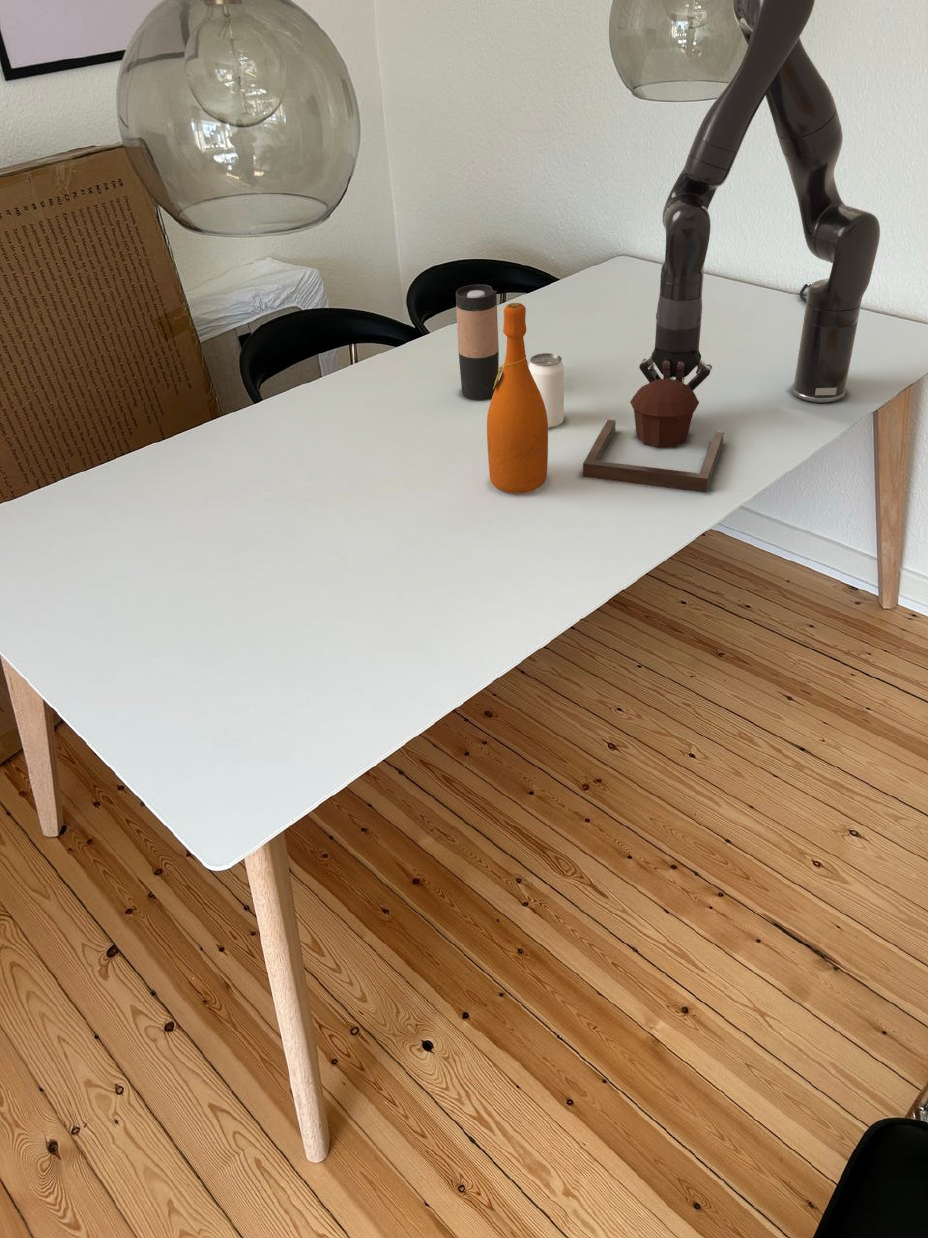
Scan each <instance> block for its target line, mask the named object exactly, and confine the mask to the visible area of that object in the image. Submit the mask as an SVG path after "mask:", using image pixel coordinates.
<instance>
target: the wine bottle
mask: <svg viewBox="0 0 928 1238" xmlns="http://www.w3.org/2000/svg"><path fill="white" fill-rule="evenodd" d="M526 312H527V309H526V306H525V305H524V304H522V303H520V302H511V303H508V304H507V305H505V306H504V309H503V328H502V332H503V334H504V335H505V337H506V349H505V351H506V352H505V353H506V354H505V359H504V363H503V364H502V365H500V366H499V368H498V375H497V378H496V381H495V384H494V387H495V385H496V383H497V381H498V379H499V382H498V384H497V386H496V389H495V391H494V393H493V396H492V398H491V399H490V403H489V407H488V410H487V416H486V443H487V445H486V446H487V459H488V460H487V461H488V473H489V479H490V482H491V484H492V485H493V486H494V488H496V489H497V490H500V491H502V492H505V493H508V494H526V493H531V492H534V491H536V490H538V489H540V488H541V487H542V486H544V484H545V482H546V480H547V479H548V478H547V476H548V463H549V462H548V460H549V428H548V419H547V412H546V408H545V405H544V401H543V399H542V396H541V394H540V391H539V389H538V387H537V385H536V383H535V381H534V379H533V377H532V374H531V372H530V370H529V367H528V366H529V362H528V360H527V354H526V346H525V339H524V336H525V335H526V333H527V324H526V323H527V321H526V314H527V313H526ZM493 390H494V388H493Z"/></svg>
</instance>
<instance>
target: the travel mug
mask: <svg viewBox="0 0 928 1238" xmlns="http://www.w3.org/2000/svg"><path fill="white" fill-rule="evenodd" d="M455 303H456V306H455V307H456V325H457V328H456V329H457V347H458V348H457V349H458V362H459V363H458V364H459V373H460V375H459V376H460V385H461V393H462V397H464V398H465V399H468V400H470V401H486V400H491V399H492V396H493V393H494V391H495V389H496V386H497V384H498V382H499V379H500V378H499V379H498V381H497V383H496V385H495V387H494V384H495V381H496V378H497V375H498V368H499V367H500V366H499V364H500V363H499V361H500V360H499V359H500V358H499V357H500V354H499V353H500V352H499V351H500V346H499V345H500V344H499V322H498V297H497V290H494V289H493V288H492V286H490V285H488V284H469V285H465V286H462V287H458V289H457V290H456V291H455ZM499 369H500V368H499ZM493 388H494V390H493Z"/></svg>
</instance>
